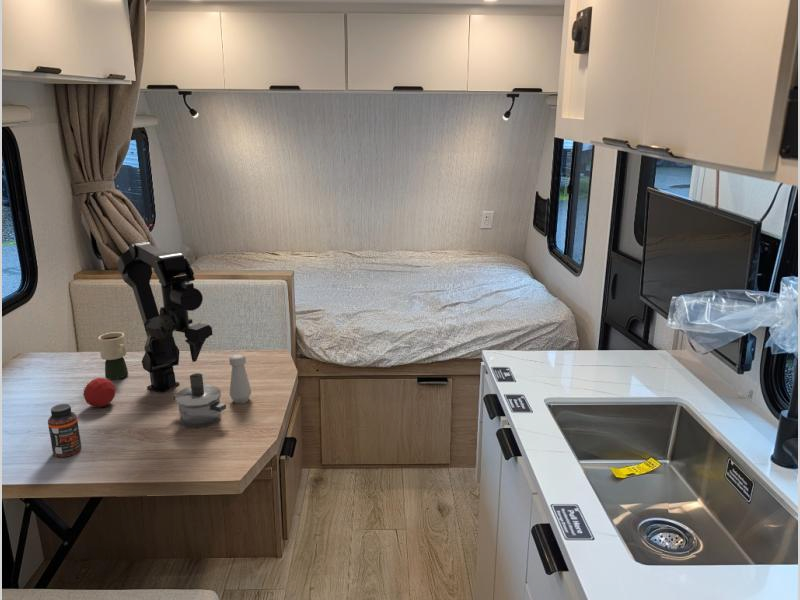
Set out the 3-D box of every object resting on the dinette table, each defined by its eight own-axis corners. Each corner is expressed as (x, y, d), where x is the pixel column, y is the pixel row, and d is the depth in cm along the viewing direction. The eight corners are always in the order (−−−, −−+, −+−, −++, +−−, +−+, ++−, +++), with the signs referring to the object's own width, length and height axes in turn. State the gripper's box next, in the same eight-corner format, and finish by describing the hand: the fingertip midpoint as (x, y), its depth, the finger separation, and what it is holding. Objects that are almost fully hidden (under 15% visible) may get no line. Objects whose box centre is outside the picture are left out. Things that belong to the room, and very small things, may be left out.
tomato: (108, 378, 163) (92, 367, 166) (87, 403, 160) (70, 391, 163) (126, 392, 169) (110, 381, 173) (105, 416, 166) (89, 404, 170)
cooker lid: (165, 401, 155) (163, 379, 154) (198, 385, 165) (195, 364, 163) (198, 410, 150) (196, 388, 149) (229, 393, 160) (228, 371, 158)
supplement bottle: (62, 461, 140) (54, 415, 137) (48, 453, 143) (39, 409, 140) (87, 449, 145) (80, 405, 142) (72, 442, 148) (65, 399, 145)
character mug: (139, 376, 186) (133, 335, 182) (118, 385, 180) (112, 342, 176) (116, 369, 191) (110, 329, 187) (95, 377, 185) (88, 336, 181)
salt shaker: (246, 405, 166) (242, 360, 162) (226, 404, 167) (222, 359, 164) (255, 396, 172) (251, 352, 168) (236, 394, 173) (232, 351, 169)
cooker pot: (163, 420, 158) (160, 399, 157) (192, 404, 167) (190, 384, 165) (210, 434, 152) (208, 411, 150) (238, 416, 160) (236, 395, 158)
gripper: (123, 305, 157) (131, 363, 161) (178, 315, 149) (184, 375, 153) (158, 294, 166) (165, 349, 171) (211, 303, 158) (216, 360, 163)
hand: (181, 358), depth 164 cm, fingers open, 9 cm apart
